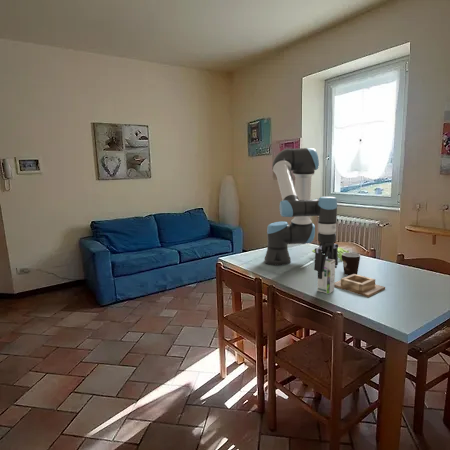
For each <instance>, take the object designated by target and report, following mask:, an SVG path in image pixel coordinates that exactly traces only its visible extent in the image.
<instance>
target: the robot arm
mask: <svg viewBox="0 0 450 450" xmlns="http://www.w3.org/2000/svg"><path fill="white" fill-rule="evenodd" d="M319 161H320V160H319V154H318V152H317V150H316V149H315V148H313V147H310V148H309V147H303V148H301V147H300V148H285V149H283V150H280V152H277V154H276V155H275V157H274V158H273V161H272V165H271V166H272V171H273V173H274V174H275V176H276V179H277V185H278V188H279V192H280V197H281V199H282V200H280V202H279V213H280V216H281V217H283V218H292V219H291V221H290V223H288V221H284V220H283V221H275V222H272V223H268V225H267V228H266V229H267V231H266V234H267V237H266V238H267V241H266V242H267V243H266V244H267V247H266V248H267V249H266V252H265V255H264V263H265V264H268V265H271V266H286V265H289V264H290V263H291V262H292V261H291V256H290V252H289V250H288V249H289V248H288V247H289V246H288V245H301V244H302V245H306V244H312V242H313V241H314V239H315V236H316V235H315V234H316V230H315V229H316V226H315V224H314V223H313V220H312V219H311V218H310V217H318V218H317V219H318V220H317V222H318V223H317V231H318V233H317V241H318V242H319V246H318V247H315V248H314V249H315V253H314V267H313V269H314V271H317V283H318V285H320V286H324V271H323V269H324V265H325V260H326V258H328V259H334V260H335V269H337V268H338V265H339V261H338V260H339V258H338V254H339V253H338V248H339V244H337V243H336V242H337V233H336V232H337V220H338V219H337V218H338V217H337V216H338V215H337V214H338V199H337V197H336V196H320V197H319V198H315V199H311V195H312V194H311V192H312V176H314V175H315V171H317V170H318V169H319V166H320V162H319ZM293 176H294V177H295V178H293ZM294 179H295V181H294Z"/></svg>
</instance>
